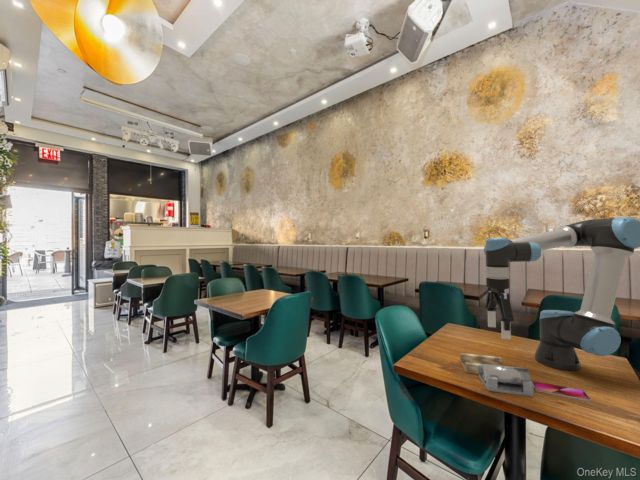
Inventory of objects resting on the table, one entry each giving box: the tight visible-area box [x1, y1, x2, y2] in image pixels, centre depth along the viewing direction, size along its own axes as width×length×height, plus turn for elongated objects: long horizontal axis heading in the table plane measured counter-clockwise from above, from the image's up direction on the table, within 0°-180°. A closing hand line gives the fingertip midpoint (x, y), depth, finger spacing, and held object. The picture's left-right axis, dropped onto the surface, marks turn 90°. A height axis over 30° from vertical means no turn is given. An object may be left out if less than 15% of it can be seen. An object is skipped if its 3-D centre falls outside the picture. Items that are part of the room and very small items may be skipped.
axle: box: [481, 364, 531, 385], centre depth 102 cm, size 14×6×6 cm, turn 76°
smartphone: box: [531, 380, 591, 403], centre depth 98 cm, size 7×1×15 cm
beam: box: [459, 352, 503, 375], centre depth 115 cm, size 16×12×4 cm
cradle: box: [478, 365, 534, 398], centre depth 102 cm, size 14×11×4 cm
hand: (498, 332), depth 106 cm, fingers open, 13 cm apart
